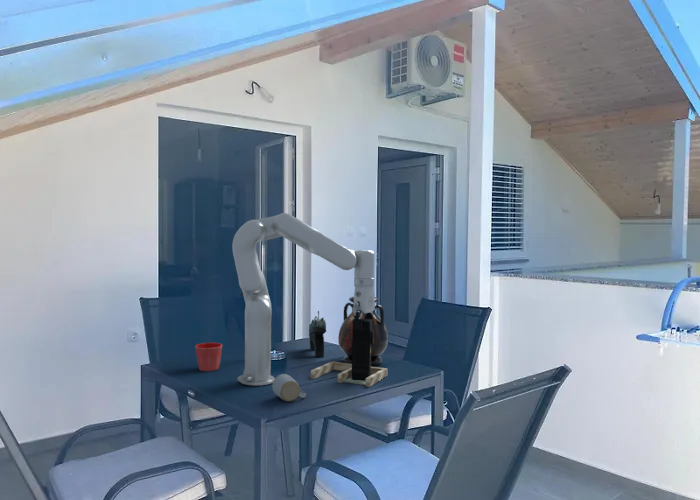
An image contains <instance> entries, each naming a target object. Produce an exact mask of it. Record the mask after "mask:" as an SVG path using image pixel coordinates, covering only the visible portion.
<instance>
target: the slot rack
mask: <svg viewBox="0 0 700 500" xmlns="http://www.w3.org/2000/svg"><path fill="white" fill-rule="evenodd" d="M332 371H338V372H339V371H340V372H339V373H338V374H337V383H349V384H355V385H361V386H362V385H363V386H365V387H366V386H367V388H370V387H372V386H374V385H375V384H377V383H378V381H379V382H380V381H382V380H384V379H385V378H387V377H388V371H389V370H388V368H386V367H385V368H384V367H378V366H371V376H369V377H367V378H366V381H365V380H353V379H352V364H348V363H346V362H339V361H329V362H328V363H325V364H323V365H320V366H318V367H315V368H313V369H311V370H310V379H314V380H315V379H317V378H320V377H322V376H323V375H325V374H328V373H330V372H332ZM386 376H387V377H386ZM384 377H385V378H384ZM383 378H384V379H383ZM381 379H382V380H381Z"/></svg>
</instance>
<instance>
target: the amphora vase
mask: <svg viewBox="0 0 700 500" xmlns="http://www.w3.org/2000/svg"><path fill="white" fill-rule="evenodd" d="M348 300H349V302H347V303H345V305H344V306H343V322H342V324H341V326H340V328H339V331H338V336H337V340H338V346H339V348H340V350H341V351H342V352H343V353H344V354H345V356H344V357H343V361H344V363H348V364H352V336H353V320H354V318H353V310H352V308H353V307H354V296H351V297H348ZM379 300H380V299H379V297H375V310H374V311H373V325H372V330H373V343H374V344H373V345H372V344H371V367H374V366H377V365H379V364H381V362H382V361H383V359H382V357H381V355H383V353H384V352H385V351H386V349H387V347H388V344H389V335H388V329H387V326H386V325H385V310H384V307H383V306H382V305H381V304H376V303H378V302H379ZM349 306H350V307H351V312H350V313H349V314H348V308H349ZM377 309H378V310H379V311H380V312H379V313H380V316H379V314H378V313H376V310H377ZM359 315H360V314H359ZM365 315H366V314H364V313H363V314H362V317H361V319H365Z"/></svg>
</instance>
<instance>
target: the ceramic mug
mask: <svg viewBox="0 0 700 500" xmlns="http://www.w3.org/2000/svg"><path fill="white" fill-rule="evenodd" d="M274 378H275V380H274V381H273V383H272V386H271V387H272V392H273V393H274V395H276V396H277V397H279V399H281V400H282V401H284V402H293V401H295V400H296V399H297V398H302V399H305V398H306V396H307V393H306V392H305V391H303V390H302V389H301V388H300V385H299V383H298V381H296V380H295V379H294V378H293V377H292V376H290V375H289V374H287V373H281V374H279V375H277V376H276V377H274Z"/></svg>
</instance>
